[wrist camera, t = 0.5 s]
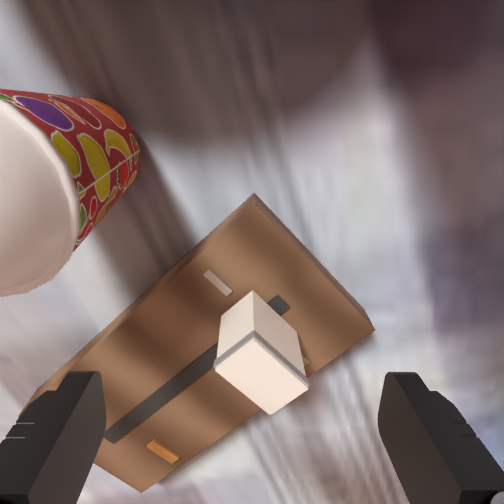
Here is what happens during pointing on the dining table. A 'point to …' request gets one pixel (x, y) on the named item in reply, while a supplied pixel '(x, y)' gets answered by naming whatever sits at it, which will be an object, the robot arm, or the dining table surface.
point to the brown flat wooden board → (206, 343)
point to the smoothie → (56, 179)
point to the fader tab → (260, 354)
